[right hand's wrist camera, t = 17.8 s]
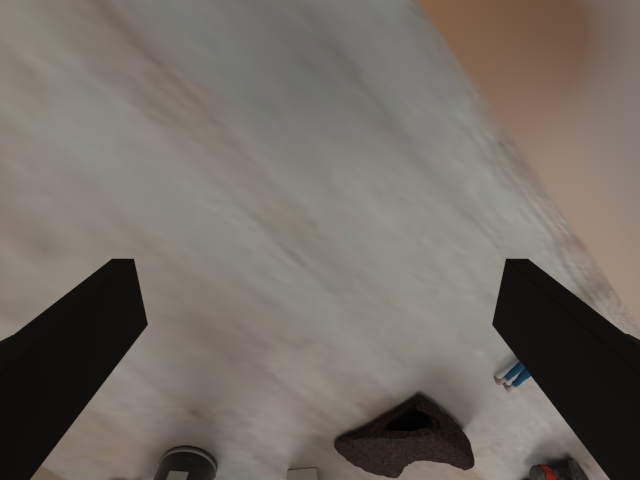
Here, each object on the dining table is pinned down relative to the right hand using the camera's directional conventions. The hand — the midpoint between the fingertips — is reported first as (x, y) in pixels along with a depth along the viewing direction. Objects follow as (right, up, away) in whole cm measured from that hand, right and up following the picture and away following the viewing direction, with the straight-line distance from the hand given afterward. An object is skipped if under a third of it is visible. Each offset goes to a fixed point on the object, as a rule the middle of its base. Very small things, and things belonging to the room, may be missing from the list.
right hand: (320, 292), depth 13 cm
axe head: (+13, -30, +45) cm, 56 cm away
